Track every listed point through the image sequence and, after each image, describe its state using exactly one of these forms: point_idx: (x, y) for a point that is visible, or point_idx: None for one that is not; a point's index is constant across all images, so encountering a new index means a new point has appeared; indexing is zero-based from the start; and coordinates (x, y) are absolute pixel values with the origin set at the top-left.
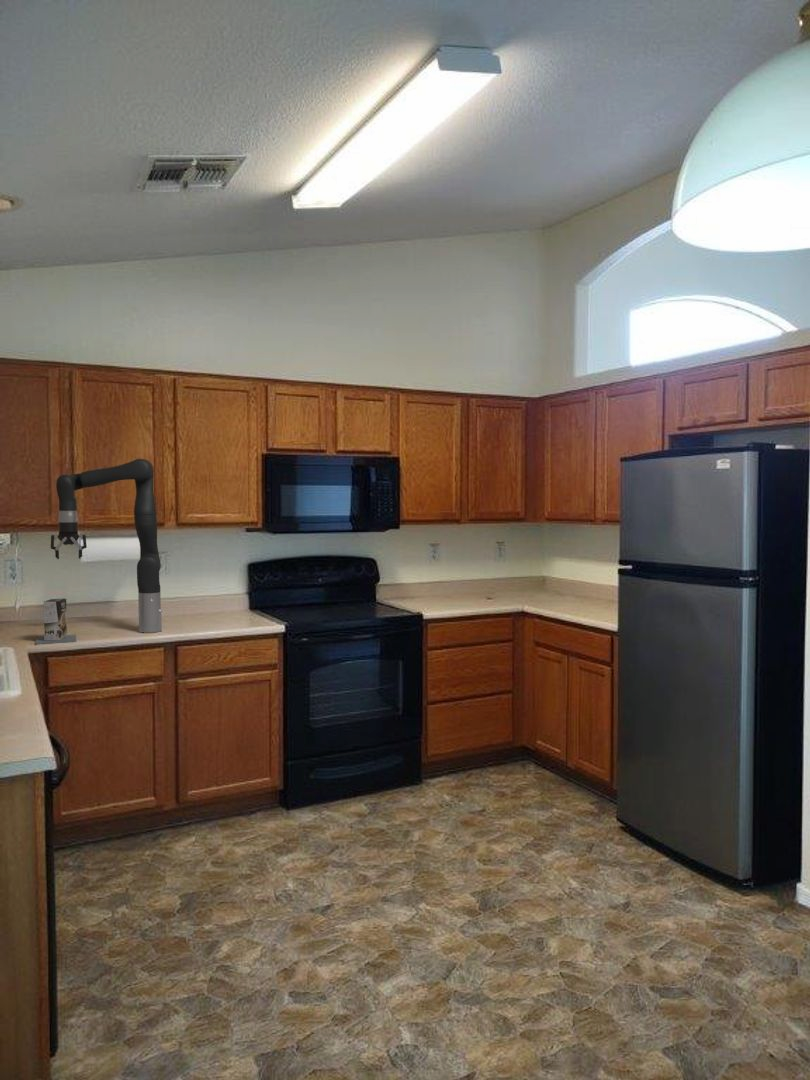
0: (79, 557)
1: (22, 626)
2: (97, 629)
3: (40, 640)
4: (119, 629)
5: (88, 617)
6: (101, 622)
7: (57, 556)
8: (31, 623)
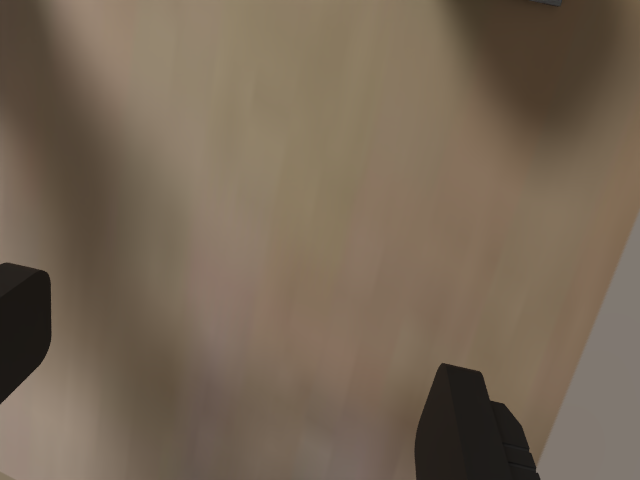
0: (19, 271)
1: None
2: (200, 129)
3: None
4: (93, 58)
5: (191, 473)
6: (156, 324)
7: (483, 400)
8: None
